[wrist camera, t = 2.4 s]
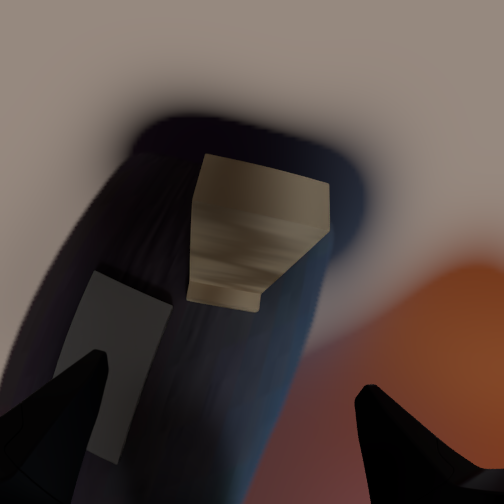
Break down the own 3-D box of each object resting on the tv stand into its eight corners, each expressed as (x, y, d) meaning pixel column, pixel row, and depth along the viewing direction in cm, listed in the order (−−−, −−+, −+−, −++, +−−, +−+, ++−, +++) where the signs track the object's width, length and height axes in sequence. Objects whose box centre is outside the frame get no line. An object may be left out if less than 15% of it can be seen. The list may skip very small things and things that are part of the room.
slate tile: (173, 308, 21) (172, 305, 20) (120, 460, 16) (117, 464, 15) (98, 274, 21) (94, 270, 20) (47, 420, 15) (41, 422, 14)
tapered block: (262, 255, 25) (328, 162, 13) (255, 312, 23) (329, 260, 11) (198, 242, 24) (211, 133, 12) (186, 300, 22) (184, 230, 10)
